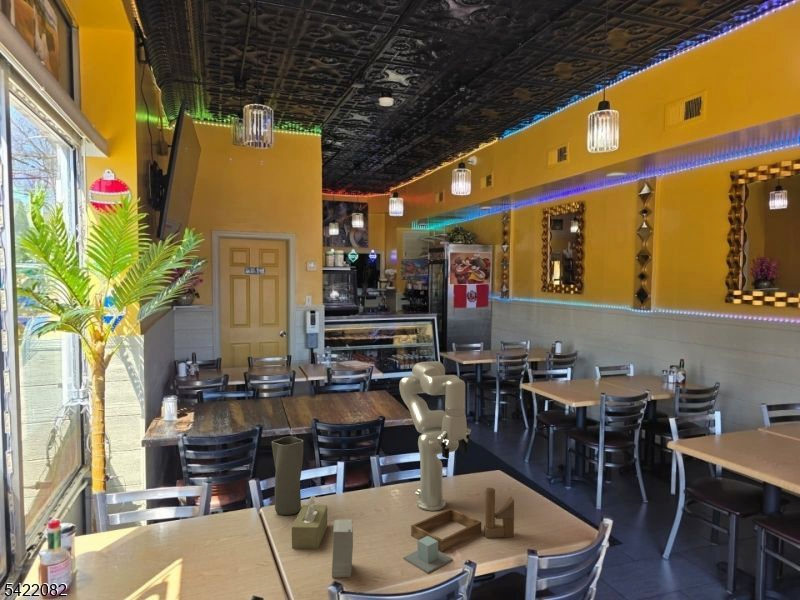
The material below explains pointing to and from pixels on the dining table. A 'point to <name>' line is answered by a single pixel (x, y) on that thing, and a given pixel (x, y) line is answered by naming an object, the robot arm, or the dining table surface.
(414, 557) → the mat
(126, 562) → the dining table surface
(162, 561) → the dining table surface
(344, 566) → the skincare box
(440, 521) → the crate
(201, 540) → the dining table surface
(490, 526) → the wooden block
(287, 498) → the vase
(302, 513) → the tissue box
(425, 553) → the block
